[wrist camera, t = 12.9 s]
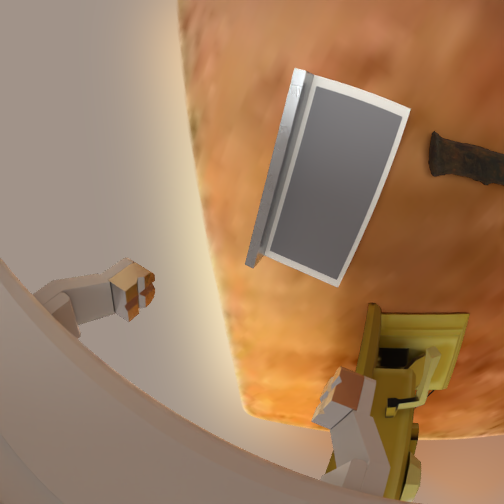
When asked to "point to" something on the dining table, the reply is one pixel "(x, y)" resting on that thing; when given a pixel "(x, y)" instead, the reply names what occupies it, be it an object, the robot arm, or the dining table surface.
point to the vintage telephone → (405, 382)
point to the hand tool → (465, 160)
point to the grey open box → (325, 175)
